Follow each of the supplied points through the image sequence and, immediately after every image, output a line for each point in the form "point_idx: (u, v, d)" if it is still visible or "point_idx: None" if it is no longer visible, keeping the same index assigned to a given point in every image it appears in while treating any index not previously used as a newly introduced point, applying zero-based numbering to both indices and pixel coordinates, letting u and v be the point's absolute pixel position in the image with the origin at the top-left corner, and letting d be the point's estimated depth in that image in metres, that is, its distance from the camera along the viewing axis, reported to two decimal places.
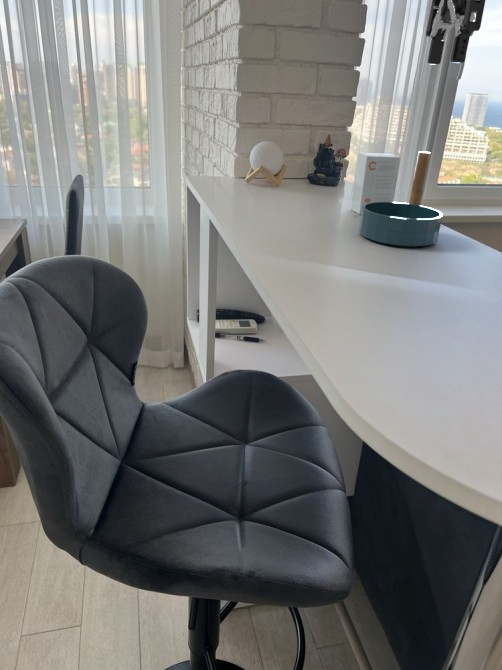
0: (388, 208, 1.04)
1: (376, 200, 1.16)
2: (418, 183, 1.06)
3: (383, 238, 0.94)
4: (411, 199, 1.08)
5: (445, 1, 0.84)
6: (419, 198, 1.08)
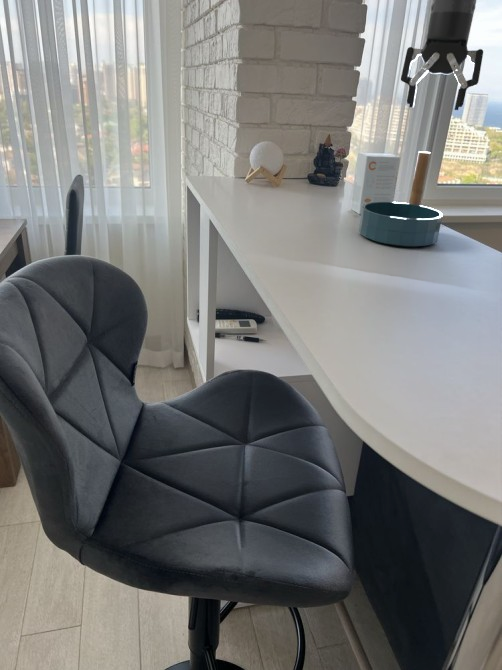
0: (388, 208, 1.04)
1: (376, 200, 1.16)
2: (418, 183, 1.06)
3: (383, 238, 0.94)
4: (411, 199, 1.08)
5: (439, 55, 0.95)
6: (419, 198, 1.08)
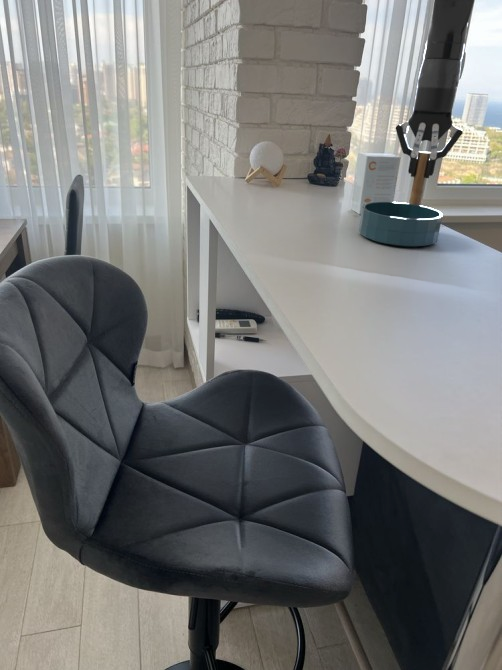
0: (388, 208, 1.04)
1: (376, 200, 1.16)
2: (418, 183, 1.06)
3: (383, 238, 0.94)
4: (411, 199, 1.08)
5: (425, 125, 1.01)
6: (419, 198, 1.08)
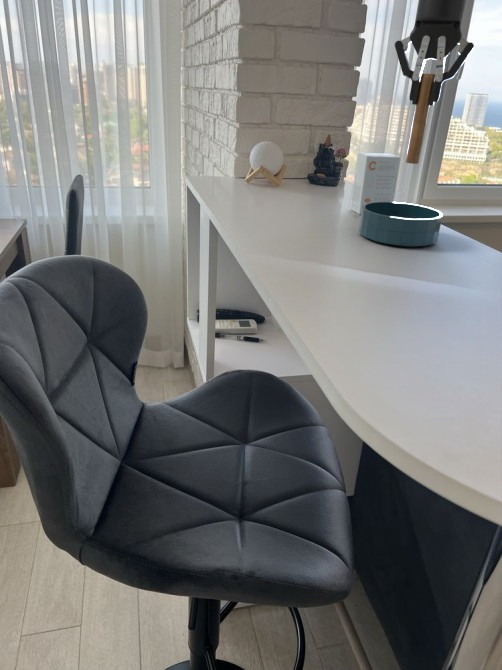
0: (388, 208, 1.04)
1: (376, 200, 1.16)
2: (421, 111, 0.91)
3: (383, 238, 0.94)
4: (412, 132, 0.93)
5: (430, 39, 0.86)
6: (422, 130, 0.92)
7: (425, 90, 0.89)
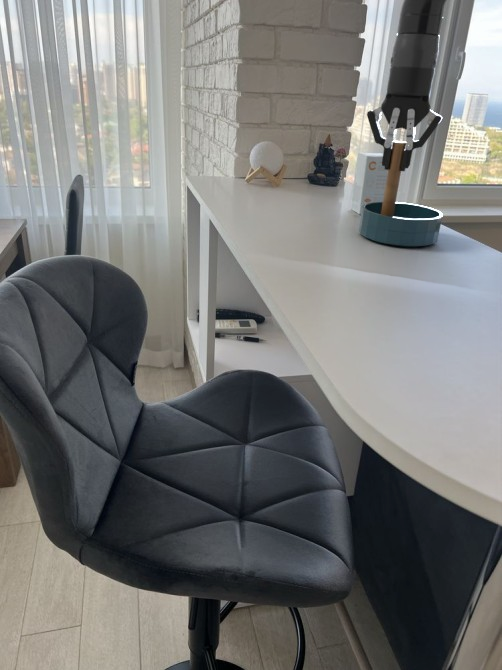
0: None
1: (376, 200, 1.16)
2: (393, 176, 0.94)
3: (383, 238, 0.94)
4: (385, 195, 0.97)
5: (400, 110, 0.89)
6: (394, 194, 0.96)
7: (396, 157, 0.93)
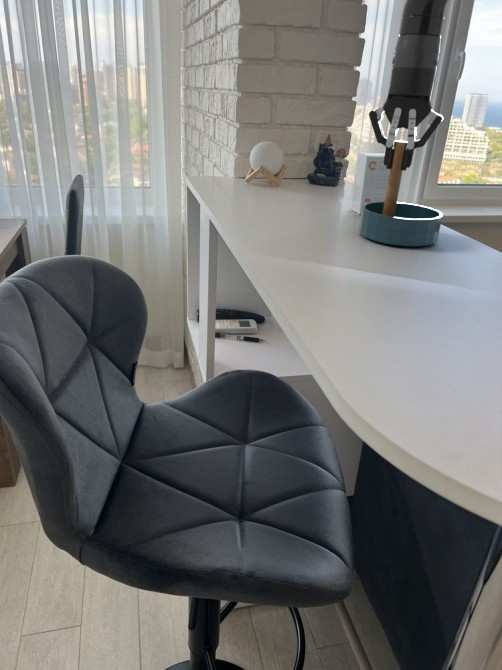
0: None
1: (376, 200, 1.16)
2: (395, 175, 0.95)
3: (383, 238, 0.94)
4: (387, 194, 0.98)
5: (401, 110, 0.90)
6: (396, 193, 0.97)
7: (398, 156, 0.94)
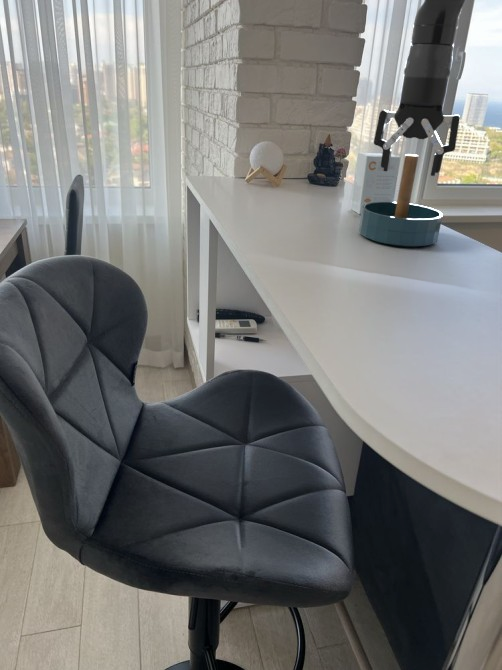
0: (388, 208, 1.04)
1: (376, 200, 1.16)
2: (405, 189, 0.95)
3: (383, 238, 0.94)
4: (397, 208, 0.97)
5: (413, 120, 0.89)
6: (406, 206, 0.96)
7: (409, 170, 0.93)
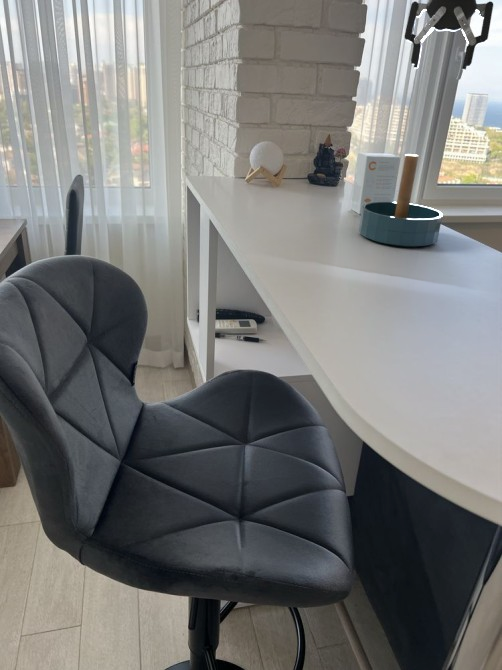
0: (388, 208, 1.04)
1: (376, 200, 1.16)
2: (405, 189, 0.95)
3: (383, 238, 0.94)
4: (397, 208, 0.97)
5: (446, 10, 0.88)
6: (406, 206, 0.96)
7: (409, 170, 0.93)
